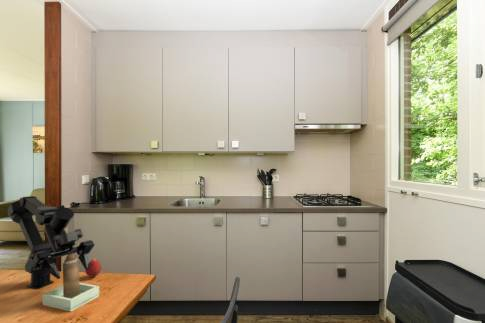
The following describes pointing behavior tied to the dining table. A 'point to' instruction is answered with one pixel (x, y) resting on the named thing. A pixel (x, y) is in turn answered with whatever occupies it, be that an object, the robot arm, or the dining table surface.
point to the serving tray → (60, 302)
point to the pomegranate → (93, 268)
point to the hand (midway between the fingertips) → (73, 273)
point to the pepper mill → (71, 277)
